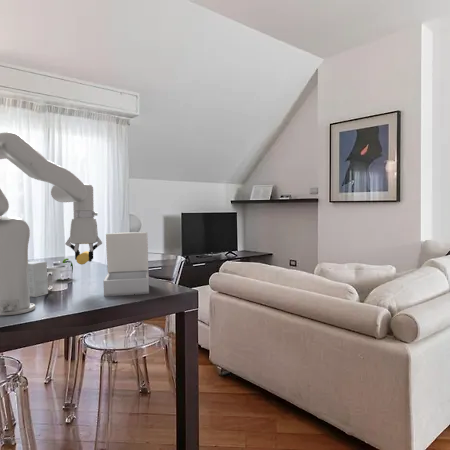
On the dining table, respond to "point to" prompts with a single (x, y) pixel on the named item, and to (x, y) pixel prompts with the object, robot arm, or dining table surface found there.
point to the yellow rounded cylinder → (83, 258)
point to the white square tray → (126, 283)
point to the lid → (127, 252)
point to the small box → (37, 278)
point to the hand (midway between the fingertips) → (84, 260)
